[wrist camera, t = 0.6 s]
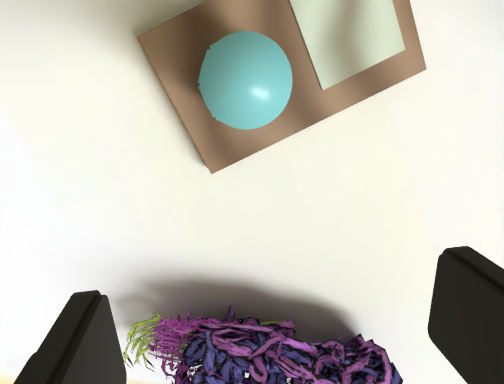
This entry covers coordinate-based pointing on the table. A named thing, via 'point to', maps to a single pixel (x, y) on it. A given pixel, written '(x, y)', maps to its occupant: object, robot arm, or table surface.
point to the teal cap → (245, 80)
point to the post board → (298, 54)
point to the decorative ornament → (260, 353)
